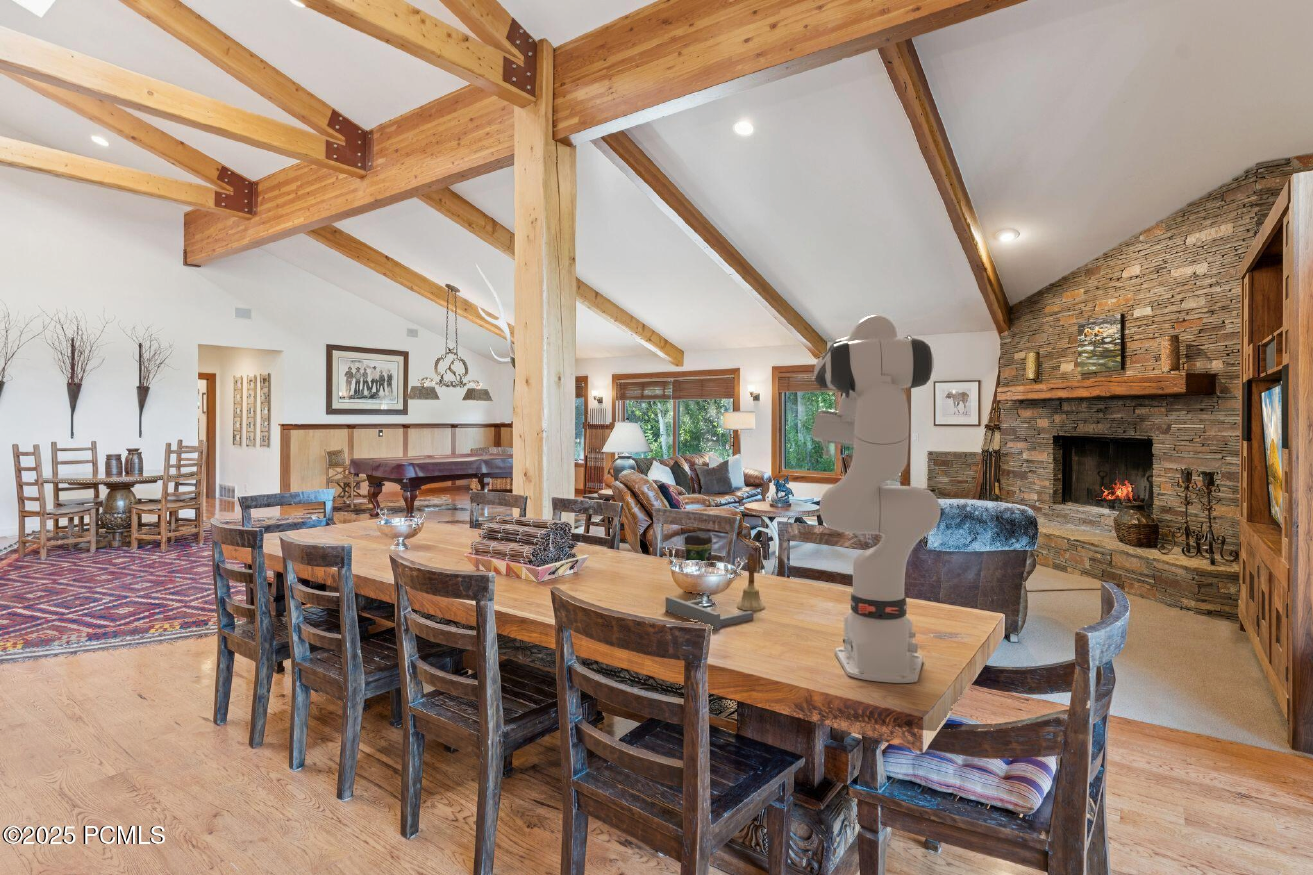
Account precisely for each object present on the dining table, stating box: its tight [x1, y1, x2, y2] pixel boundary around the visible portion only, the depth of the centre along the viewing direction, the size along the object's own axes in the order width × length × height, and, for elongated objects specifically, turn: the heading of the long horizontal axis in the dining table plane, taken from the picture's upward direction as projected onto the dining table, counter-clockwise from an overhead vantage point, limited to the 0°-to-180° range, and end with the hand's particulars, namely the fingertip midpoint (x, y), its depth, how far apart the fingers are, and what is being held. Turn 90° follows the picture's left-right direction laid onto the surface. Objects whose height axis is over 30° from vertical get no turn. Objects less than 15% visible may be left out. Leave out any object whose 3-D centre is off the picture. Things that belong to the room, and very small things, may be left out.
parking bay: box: [665, 595, 755, 631], centre depth 184 cm, size 15×22×4 cm, turn 35°
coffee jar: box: [684, 530, 713, 563], centre depth 214 cm, size 10×8×19 cm
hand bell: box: [736, 551, 766, 612], centre depth 192 cm, size 8×8×16 cm
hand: (842, 460), depth 185 cm, fingers open, 8 cm apart
